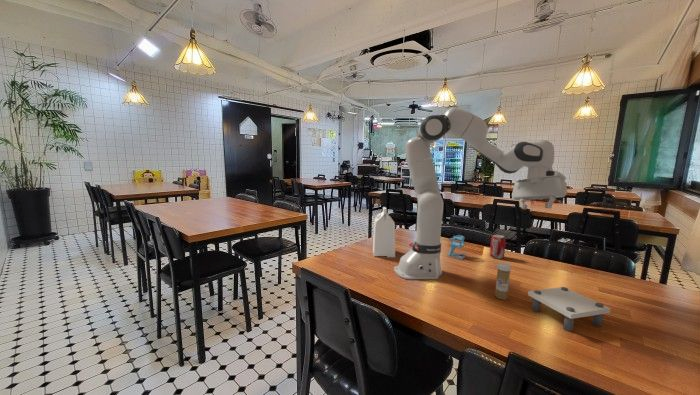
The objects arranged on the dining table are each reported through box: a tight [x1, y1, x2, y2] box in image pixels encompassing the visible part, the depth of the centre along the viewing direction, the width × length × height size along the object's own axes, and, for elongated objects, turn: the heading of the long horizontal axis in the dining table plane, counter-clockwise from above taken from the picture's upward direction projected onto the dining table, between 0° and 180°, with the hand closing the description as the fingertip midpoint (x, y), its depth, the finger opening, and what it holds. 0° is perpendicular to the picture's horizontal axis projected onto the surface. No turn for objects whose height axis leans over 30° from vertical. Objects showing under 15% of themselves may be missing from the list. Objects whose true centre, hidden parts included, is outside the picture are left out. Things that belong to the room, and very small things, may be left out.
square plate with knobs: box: [527, 286, 612, 332], centre depth 100 cm, size 16×16×7 cm
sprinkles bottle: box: [494, 262, 512, 301], centre depth 113 cm, size 5×5×14 cm
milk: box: [372, 206, 396, 258], centre depth 162 cm, size 12×12×26 cm
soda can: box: [489, 234, 506, 260], centre depth 159 cm, size 7×7×12 cm
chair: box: [447, 234, 467, 260], centre depth 160 cm, size 8×8×12 cm
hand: (535, 208), depth 119 cm, fingers open, 8 cm apart
